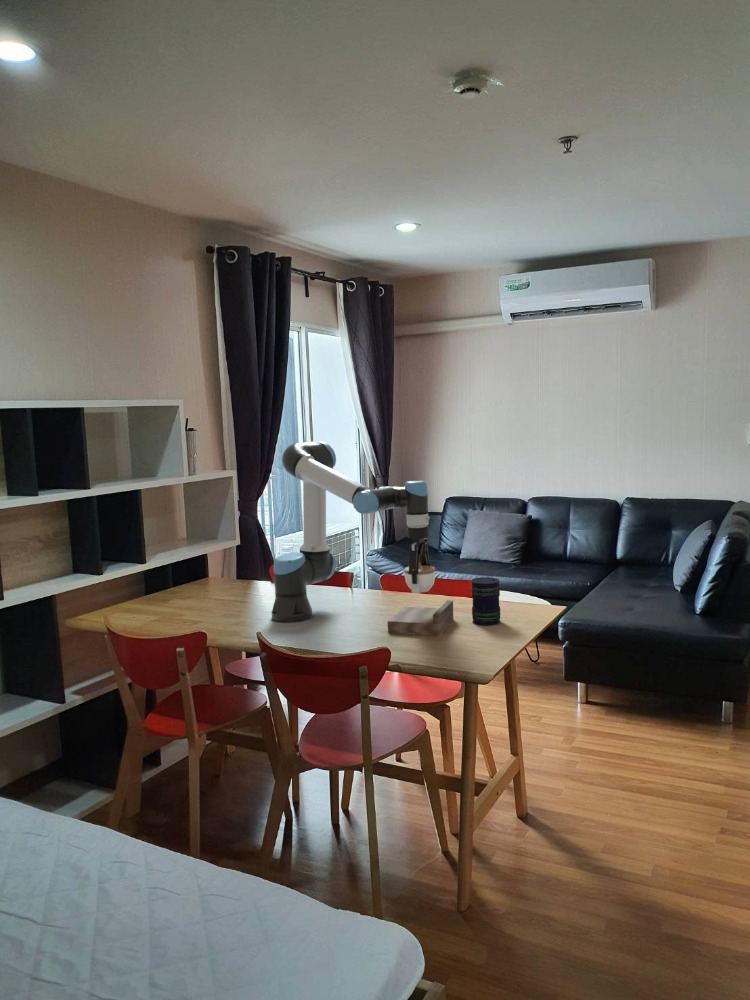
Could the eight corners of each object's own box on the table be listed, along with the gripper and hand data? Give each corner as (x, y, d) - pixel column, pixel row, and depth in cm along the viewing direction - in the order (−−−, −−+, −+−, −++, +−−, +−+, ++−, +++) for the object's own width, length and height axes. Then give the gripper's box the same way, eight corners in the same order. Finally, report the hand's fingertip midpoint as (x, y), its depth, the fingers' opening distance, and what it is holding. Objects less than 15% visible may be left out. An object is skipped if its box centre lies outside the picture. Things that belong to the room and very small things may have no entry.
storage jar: (471, 626, 265) (470, 583, 263) (472, 618, 275) (471, 577, 273) (501, 626, 264) (500, 583, 262) (500, 618, 273) (499, 577, 272)
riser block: (388, 632, 261) (387, 612, 261) (405, 617, 280) (404, 598, 279) (439, 635, 255) (438, 614, 255) (453, 619, 274) (452, 600, 273)
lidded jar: (433, 593, 260) (432, 566, 259) (402, 593, 262) (401, 566, 261) (437, 586, 270) (436, 560, 269) (407, 586, 273) (406, 560, 272)
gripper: (419, 531, 252) (421, 597, 254) (437, 521, 274) (439, 582, 276) (397, 531, 254) (400, 596, 257) (416, 521, 276) (419, 581, 278)
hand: (420, 589), depth 266 cm, fingers closed on lidded jar, 11 cm apart
